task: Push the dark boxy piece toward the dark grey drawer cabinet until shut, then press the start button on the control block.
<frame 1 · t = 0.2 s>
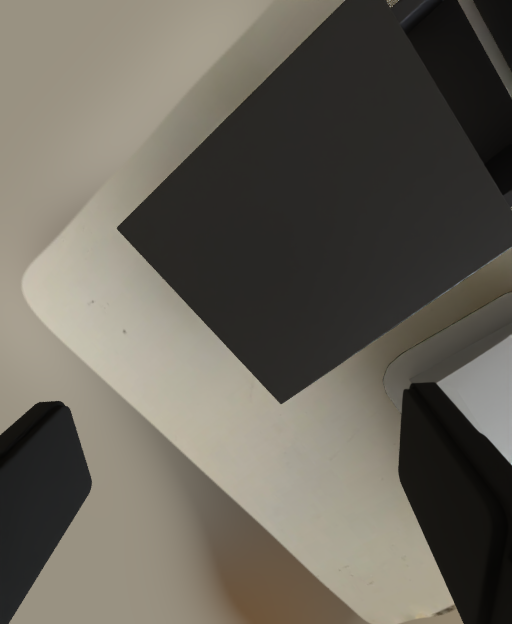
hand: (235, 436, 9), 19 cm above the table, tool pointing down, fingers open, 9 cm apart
dark boxy piece: (481, 81, 19), point 5 cm above the table, slide at 8.0 cm
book: (508, 418, 31), on the table
dark grey drawer cabinet: (301, 219, 26), on the table
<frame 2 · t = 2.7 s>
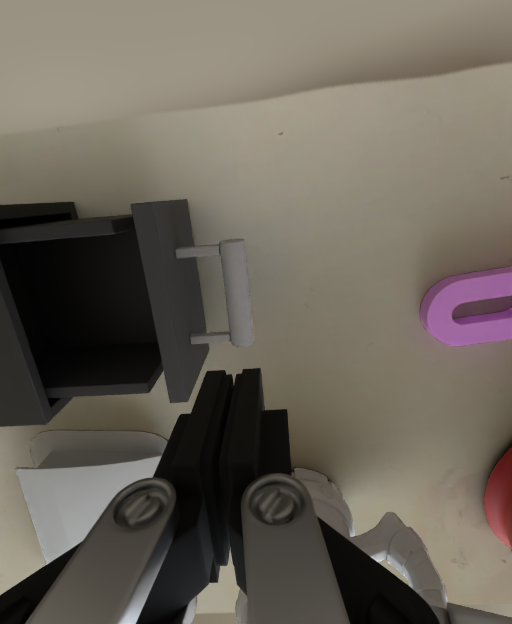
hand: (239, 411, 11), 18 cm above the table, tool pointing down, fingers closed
dark boxy piece: (117, 298, 24), point 5 cm above the table, slide at 8.0 cm
bracket: (501, 300, 28), on the table
mug: (322, 502, 36), on the table
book: (116, 514, 38), on the table
dark grey drawer cabinet: (8, 292, 29), on the table
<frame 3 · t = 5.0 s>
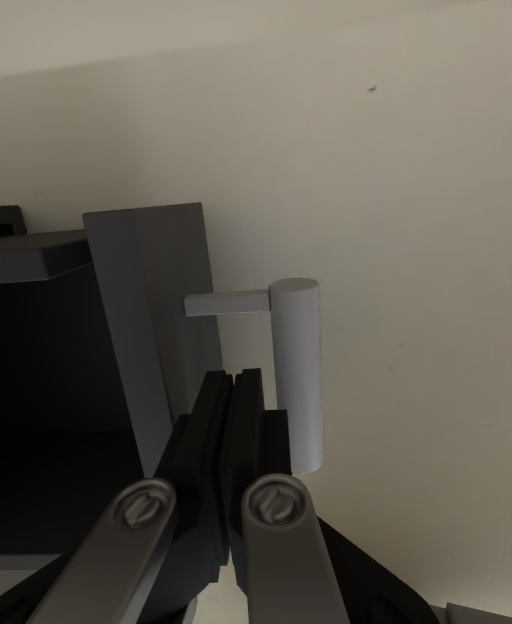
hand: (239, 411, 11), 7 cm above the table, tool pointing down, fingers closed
dark boxy piece: (78, 377, 14), point 5 cm above the table, slide at 7.7 cm, touching gripper
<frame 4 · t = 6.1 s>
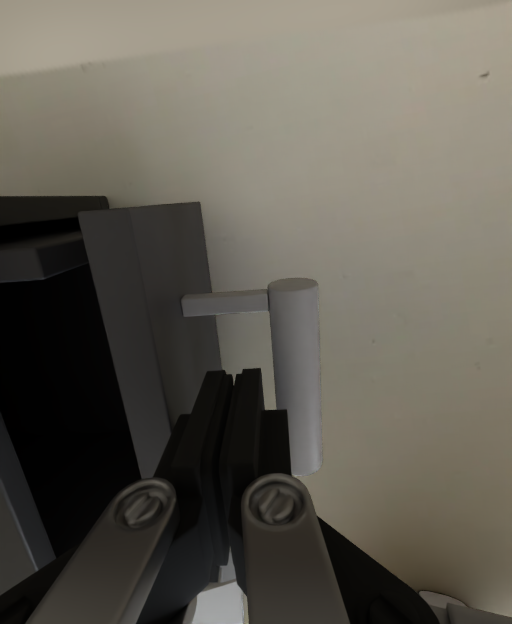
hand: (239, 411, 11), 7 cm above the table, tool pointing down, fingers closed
dark boxy piece: (76, 378, 13), point 5 cm above the table, slide at 3.3 cm, touching gripper
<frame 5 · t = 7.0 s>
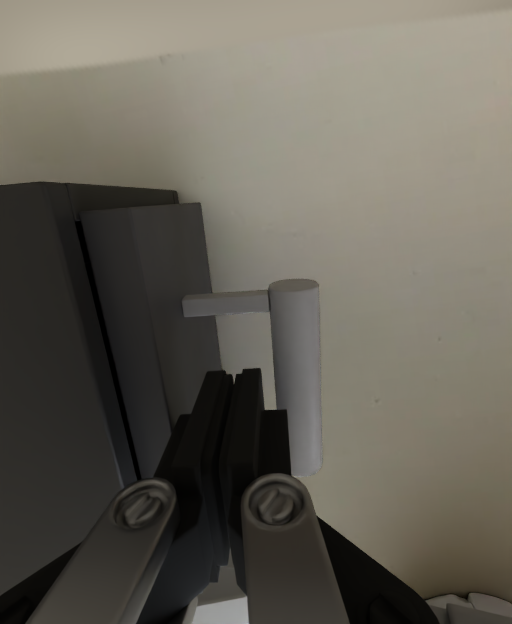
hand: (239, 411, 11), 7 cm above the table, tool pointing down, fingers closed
dark boxy piece: (76, 378, 13), point 5 cm above the table, slide at 0.0 cm, touching dark grey drawer cabinet, gripper
dark grey drawer cabinet: (54, 336, 18), on the table
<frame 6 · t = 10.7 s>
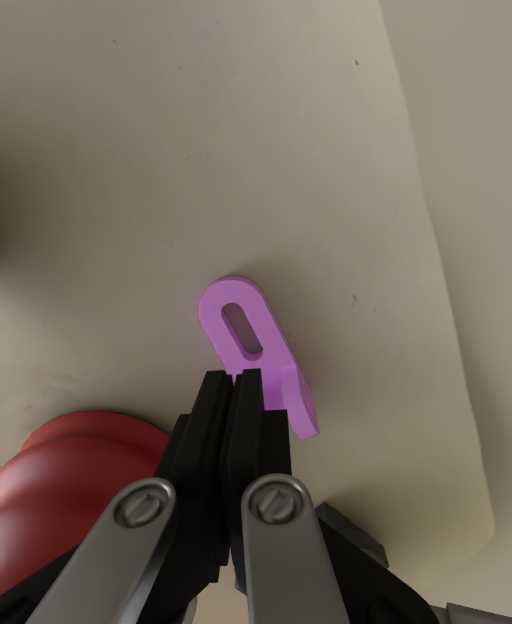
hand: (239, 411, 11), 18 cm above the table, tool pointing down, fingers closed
bracket: (253, 343, 30), on the table
control block: (307, 557, 38), on the table
table lamp: (115, 485, 36), on the table
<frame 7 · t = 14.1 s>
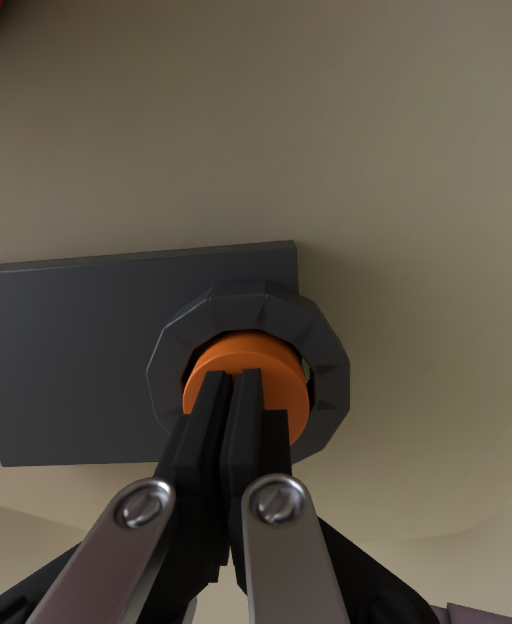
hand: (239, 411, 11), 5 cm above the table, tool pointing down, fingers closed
start button: (247, 394, 11), point 4 cm above the table, slide at -0.3 cm, touching gripper
control block: (147, 350, 16), on the table
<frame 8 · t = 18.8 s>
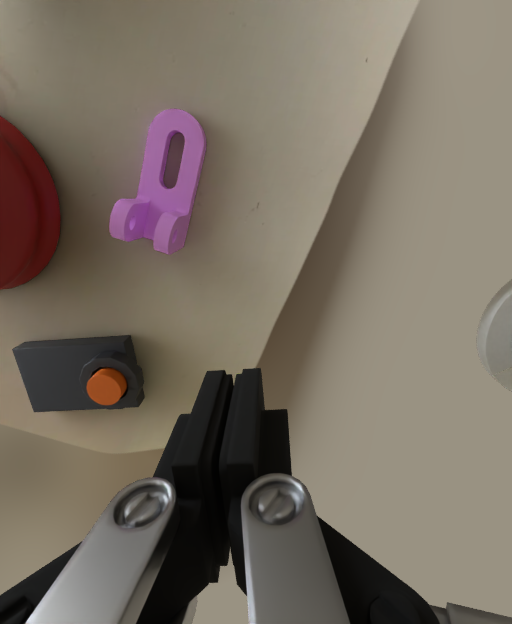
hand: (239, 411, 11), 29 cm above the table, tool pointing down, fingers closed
start button: (107, 386, 39), point 4 cm above the table, slide at 0.1 cm
bracket: (172, 180, 36), on the table
control block: (85, 370, 44), on the table
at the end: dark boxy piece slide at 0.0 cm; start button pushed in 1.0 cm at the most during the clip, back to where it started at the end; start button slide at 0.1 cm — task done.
